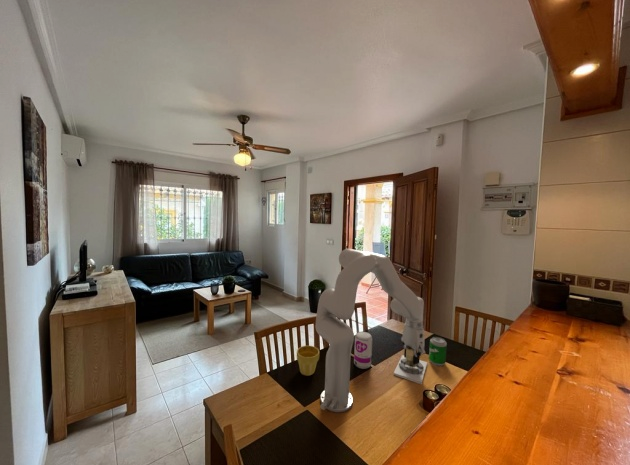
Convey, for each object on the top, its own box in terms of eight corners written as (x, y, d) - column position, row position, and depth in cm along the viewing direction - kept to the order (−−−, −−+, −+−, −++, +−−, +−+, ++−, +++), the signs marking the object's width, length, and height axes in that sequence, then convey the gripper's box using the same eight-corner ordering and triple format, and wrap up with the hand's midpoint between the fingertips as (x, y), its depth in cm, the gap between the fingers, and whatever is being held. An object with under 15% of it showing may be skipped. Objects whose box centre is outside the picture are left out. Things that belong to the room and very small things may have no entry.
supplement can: (366, 371, 122) (367, 340, 121) (350, 365, 127) (352, 335, 126) (373, 364, 129) (375, 334, 127) (358, 357, 134) (360, 329, 132)
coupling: (420, 365, 124) (421, 347, 123) (410, 368, 121) (411, 349, 121) (412, 359, 128) (413, 341, 128) (402, 361, 126) (403, 343, 125)
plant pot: (314, 380, 115) (315, 359, 114) (292, 375, 118) (293, 354, 117) (321, 367, 124) (322, 347, 124) (301, 362, 128) (301, 343, 127)
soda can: (441, 359, 135) (443, 336, 134) (447, 367, 127) (449, 344, 126) (426, 358, 135) (428, 335, 134) (431, 366, 128) (433, 342, 127)
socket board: (421, 384, 114) (421, 379, 114) (393, 374, 120) (393, 370, 120) (427, 364, 130) (427, 359, 130) (402, 356, 136) (402, 352, 136)
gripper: (434, 329, 117) (431, 368, 118) (407, 315, 133) (405, 349, 134) (421, 332, 114) (418, 372, 115) (395, 317, 130) (393, 352, 131)
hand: (411, 359), depth 125 cm, fingers closed on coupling, 5 cm apart
